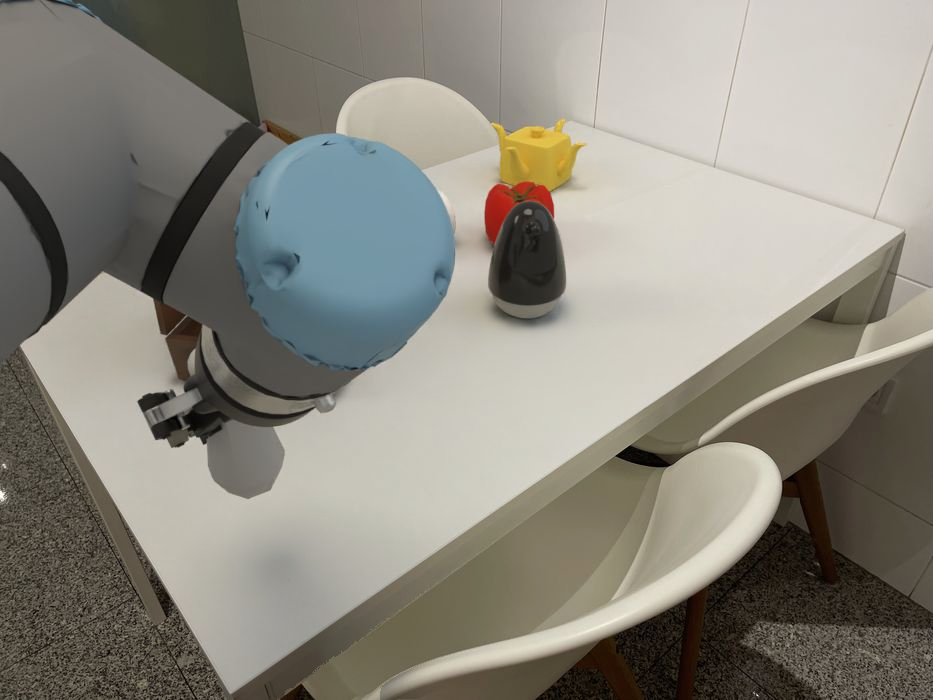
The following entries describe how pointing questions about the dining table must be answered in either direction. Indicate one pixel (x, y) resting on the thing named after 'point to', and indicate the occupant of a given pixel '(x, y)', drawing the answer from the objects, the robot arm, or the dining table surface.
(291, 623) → the dining table surface
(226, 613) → the dining table surface
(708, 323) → the dining table surface
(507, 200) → the tomato
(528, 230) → the black tumbler egg
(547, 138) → the teapot
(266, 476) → the salt shaker
